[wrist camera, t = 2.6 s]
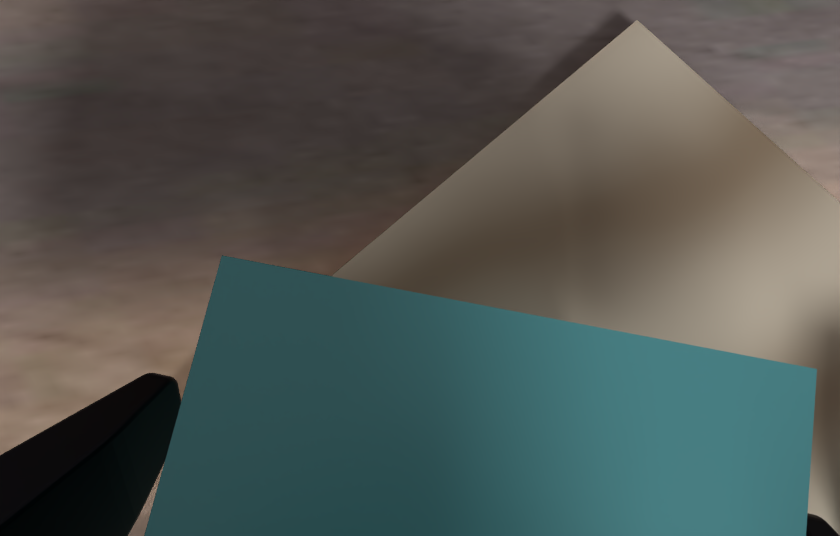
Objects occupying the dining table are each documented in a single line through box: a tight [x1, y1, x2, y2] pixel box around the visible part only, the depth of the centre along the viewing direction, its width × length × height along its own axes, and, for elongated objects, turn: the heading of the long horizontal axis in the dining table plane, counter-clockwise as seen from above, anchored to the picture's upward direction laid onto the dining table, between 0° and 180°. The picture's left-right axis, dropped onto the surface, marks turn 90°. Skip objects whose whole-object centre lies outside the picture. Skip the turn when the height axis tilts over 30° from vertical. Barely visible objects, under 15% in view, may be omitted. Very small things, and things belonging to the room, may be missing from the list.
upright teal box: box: [144, 256, 817, 536], centre depth 10 cm, size 6×6×10 cm
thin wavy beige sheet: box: [181, 20, 840, 535], centre depth 15 cm, size 20×18×1 cm
